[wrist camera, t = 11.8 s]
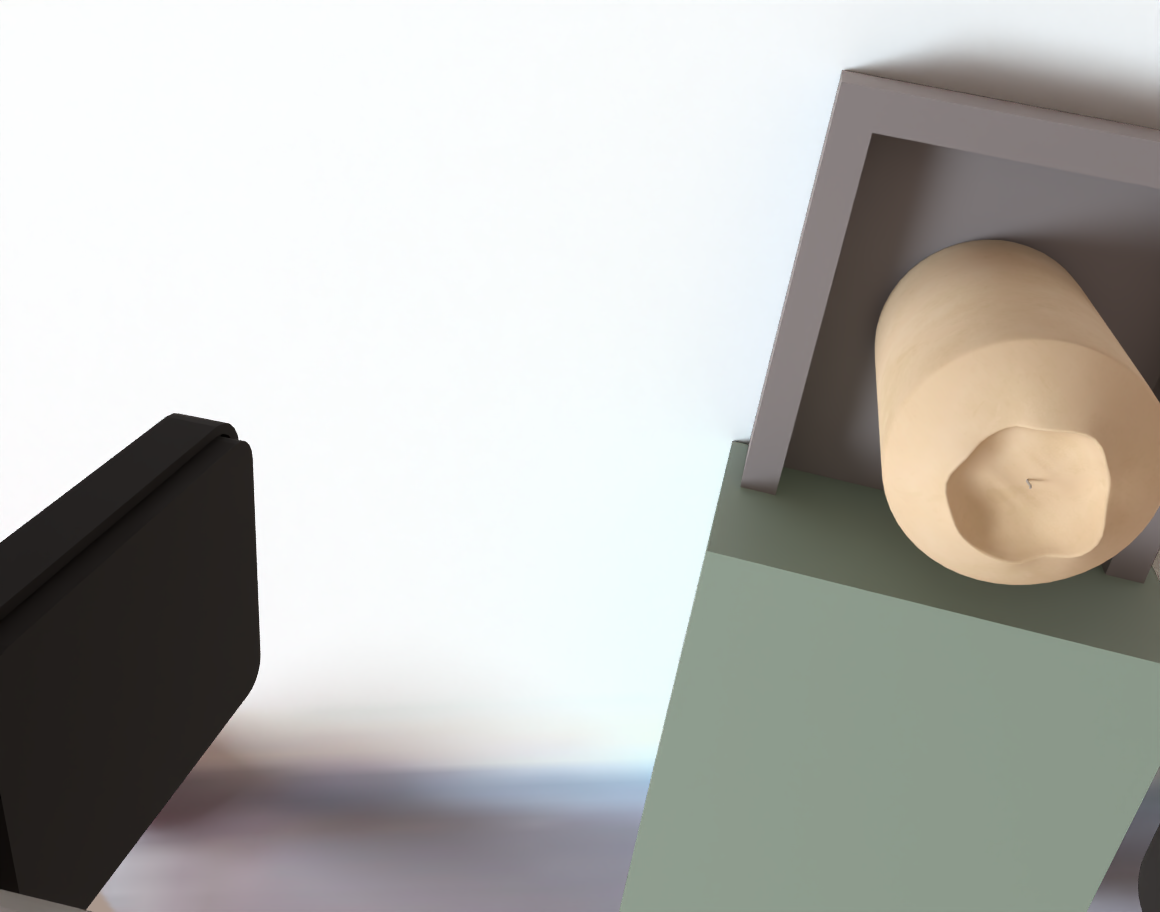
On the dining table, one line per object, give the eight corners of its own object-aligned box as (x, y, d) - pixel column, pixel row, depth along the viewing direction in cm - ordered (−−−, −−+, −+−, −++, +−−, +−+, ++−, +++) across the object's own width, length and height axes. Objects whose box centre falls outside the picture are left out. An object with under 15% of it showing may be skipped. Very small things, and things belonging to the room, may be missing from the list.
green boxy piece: (822, 66, 29) (816, 97, 23) (1303, 157, 27) (1436, 216, 21) (649, 787, 40) (612, 940, 34) (985, 880, 38) (1012, 1059, 32)
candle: (989, 192, 28) (1052, 300, 20) (1135, 336, 29) (1262, 504, 20) (831, 338, 31) (824, 493, 22) (969, 468, 32) (1017, 670, 23)
